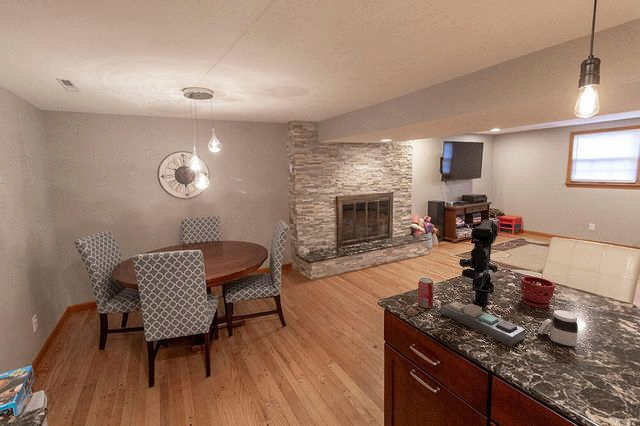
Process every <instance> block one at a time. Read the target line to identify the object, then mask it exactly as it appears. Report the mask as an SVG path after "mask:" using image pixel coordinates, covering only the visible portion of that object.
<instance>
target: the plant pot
mask: <svg viewBox="0 0 640 426" xmlns="http://www.w3.org/2000/svg"><path fill="white" fill-rule="evenodd" d="M533 282H534V283H533ZM537 283H540V285H538V284H537ZM555 286H556V285H555V283H554V282H552V281H550V280H549V279H546V278H543V277H538V276H523V277H522V278H521V284H520V291H521V294H522V295H521V296H520V300H521V301H522V302H523V303H524V304H526V305H528V306H530V307H531V306H532V307H535V308H540V309H541V308H547V307H549V306H550V304H551V303H550V301H551V299H552V297H553V295H554V294H555V293H554V291H555V288H556V287H555Z"/></svg>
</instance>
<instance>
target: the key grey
mask: <svg viewBox="0 0 640 426" xmlns="http://www.w3.org/2000/svg"><path fill="white" fill-rule="evenodd" d="M465 305H466V306H464V313H465V314H467V315H469V316H472V317H474V318H476V317H479V316H481V314H482V312H483V306H482V307H481V306H478V305H477V304H474V303H471V302H470V303H469V304H465Z"/></svg>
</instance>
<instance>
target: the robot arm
mask: <svg viewBox="0 0 640 426" xmlns="http://www.w3.org/2000/svg"><path fill="white" fill-rule="evenodd" d="M498 236H499V225H497V224H496V223H495V221H494V219H482V221H481V223H480V224H479V226H475V227H474V229H473V230H472V234H471V239H470V244H472V245H474V246H473V249H472V250H471V251H470V258H468V259H466V258H461V259H459V263H458V264H459V266H461V268H462V269H463V268H465V269H463V270H462V271H461V276H462V277H464V278H465V277H466V278H468V279H471V280H472V283H471V285H472V286H471V287H472V288H471V289H472V291H474V292H475V294H474V295H475V296H474V299H472V301H471V302H472V303H473V304H474V303H475V304H476V305H480V306H482V307H487V306H489V305H491V304H492V301H489V297H490V295H492V294H494V292H495V286H494V282H493V281H492V276H491V274H490V272H489V271H492V272H493V273H495V274H496V273H498V271H499V270H498V268H499V267H498V266H497V265H496V264H491V263H490V262H491V255H492V254H491V253H492V247H493V244H494V243H495V242H497V237H498Z"/></svg>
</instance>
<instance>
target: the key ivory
mask: <svg viewBox="0 0 640 426" xmlns="http://www.w3.org/2000/svg"><path fill="white" fill-rule="evenodd" d="M453 302H454V301H453ZM458 302H459V301H457V302H454V303H452V302H450V303H451V304H450V306H449V307H451V308H453V309H455V310H458V311H462V310H464V306H466V305H467V304H464V303H462V304H461V302H459V303H458ZM463 304H464V305H463Z"/></svg>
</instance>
